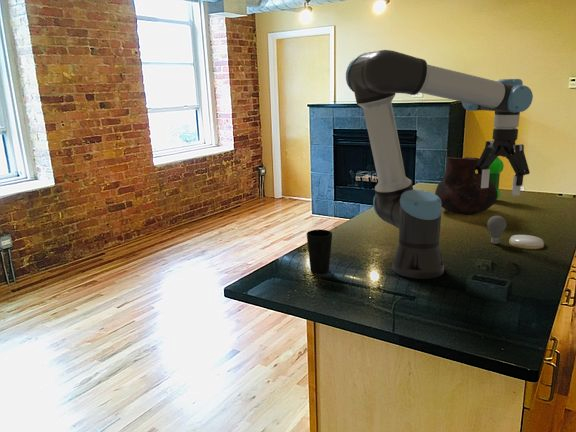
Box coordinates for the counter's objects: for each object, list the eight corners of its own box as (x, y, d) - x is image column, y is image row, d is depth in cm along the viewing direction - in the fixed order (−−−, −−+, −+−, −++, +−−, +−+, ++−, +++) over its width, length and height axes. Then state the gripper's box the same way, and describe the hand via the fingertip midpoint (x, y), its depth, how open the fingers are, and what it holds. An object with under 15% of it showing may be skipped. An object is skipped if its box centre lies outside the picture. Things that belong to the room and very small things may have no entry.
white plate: (527, 250, 157) (527, 245, 157) (502, 241, 167) (502, 236, 167) (551, 246, 161) (551, 241, 161) (525, 237, 171) (525, 232, 170)
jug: (507, 213, 203) (513, 155, 197) (471, 223, 190) (476, 161, 183) (458, 202, 223) (461, 149, 217) (422, 211, 210) (424, 155, 203)
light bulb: (506, 246, 162) (508, 218, 159) (487, 245, 163) (489, 217, 161) (502, 241, 168) (504, 213, 165) (484, 240, 169) (486, 213, 166)
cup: (324, 277, 140) (324, 238, 137) (302, 272, 144) (301, 234, 141) (336, 268, 146) (336, 231, 143) (314, 264, 150) (314, 228, 147)
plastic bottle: (504, 202, 221) (509, 149, 215) (481, 203, 221) (485, 149, 215) (495, 198, 231) (499, 146, 224) (473, 198, 231) (477, 147, 225)
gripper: (547, 130, 146) (538, 197, 151) (486, 125, 168) (481, 184, 173) (528, 131, 143) (521, 199, 148) (469, 126, 165) (464, 185, 171)
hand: (499, 191), depth 161 cm, fingers open, 13 cm apart
